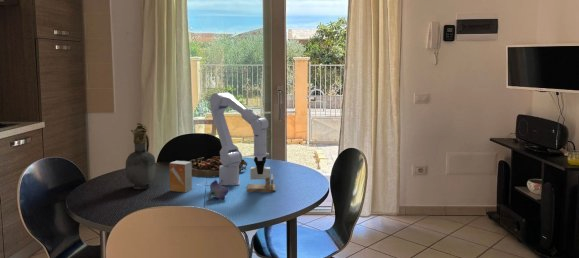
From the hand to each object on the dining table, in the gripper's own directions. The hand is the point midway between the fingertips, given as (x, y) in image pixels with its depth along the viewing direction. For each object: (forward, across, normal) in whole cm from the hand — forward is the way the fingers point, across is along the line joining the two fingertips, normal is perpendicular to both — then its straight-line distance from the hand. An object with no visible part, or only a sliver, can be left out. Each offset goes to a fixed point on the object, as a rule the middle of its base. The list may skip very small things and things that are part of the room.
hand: (260, 173), depth 224 cm
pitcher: (+8, +5, +55) cm, 56 cm away
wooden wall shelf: (+7, 0, 0) cm, 7 cm away
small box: (+8, -2, +36) cm, 37 cm away
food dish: (+8, +40, +25) cm, 48 cm away
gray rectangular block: (+2, 0, 0) cm, 3 cm away
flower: (+8, -16, +18) cm, 26 cm away
